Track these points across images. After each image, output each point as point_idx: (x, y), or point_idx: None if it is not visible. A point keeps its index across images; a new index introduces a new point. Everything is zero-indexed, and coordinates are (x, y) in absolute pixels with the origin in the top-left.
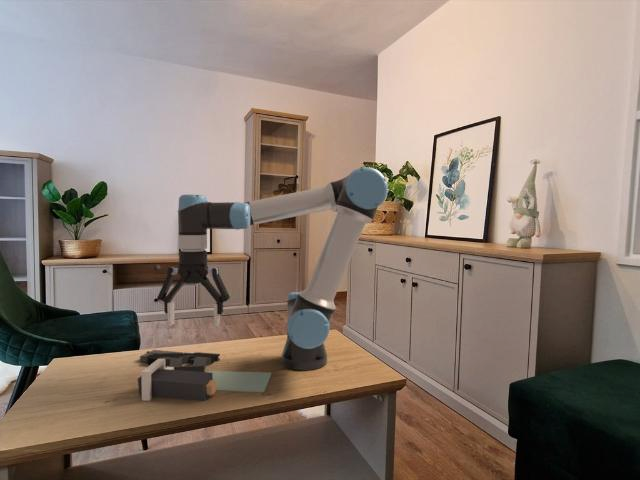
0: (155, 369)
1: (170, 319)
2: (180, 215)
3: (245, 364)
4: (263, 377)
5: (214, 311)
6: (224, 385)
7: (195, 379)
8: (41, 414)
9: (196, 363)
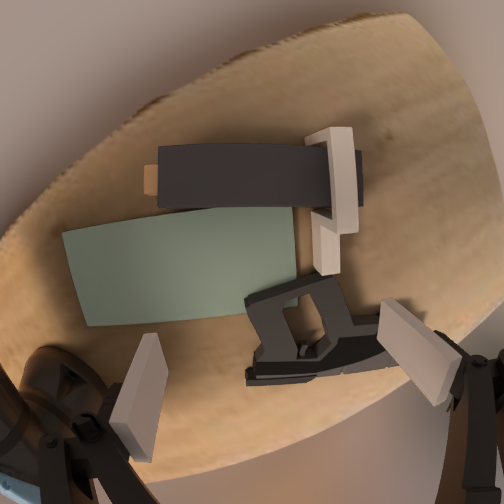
0: (330, 166)
1: (397, 316)
2: None
3: (172, 367)
4: (91, 300)
5: (135, 386)
6: (155, 241)
7: (192, 164)
8: (447, 95)
9: (276, 320)
